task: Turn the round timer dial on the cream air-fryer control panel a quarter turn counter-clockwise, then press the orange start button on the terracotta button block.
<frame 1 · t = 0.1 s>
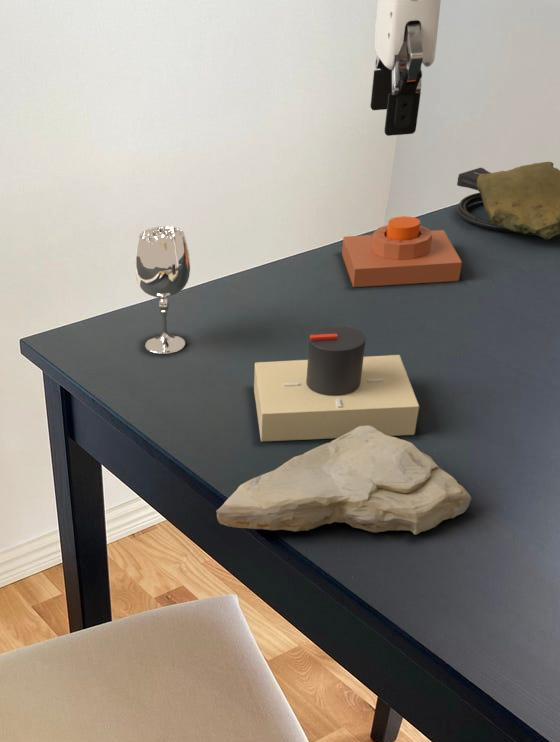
hand: (391, 120, 107), 16 cm above the table, tool pointing down, fingers open, 9 cm apart
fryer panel: (330, 411, 93), on the table
button block: (398, 267, 115), on the table
stone: (329, 508, 82), on the table
start button: (403, 229, 112), point 4 cm above the table, slide at 0.1 cm
timer dial: (335, 359, 89), point 5 cm above the table, hinge at 0.0°
wineglass: (165, 346, 106), on the table
cable: (515, 219, 123), on the table, touching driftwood
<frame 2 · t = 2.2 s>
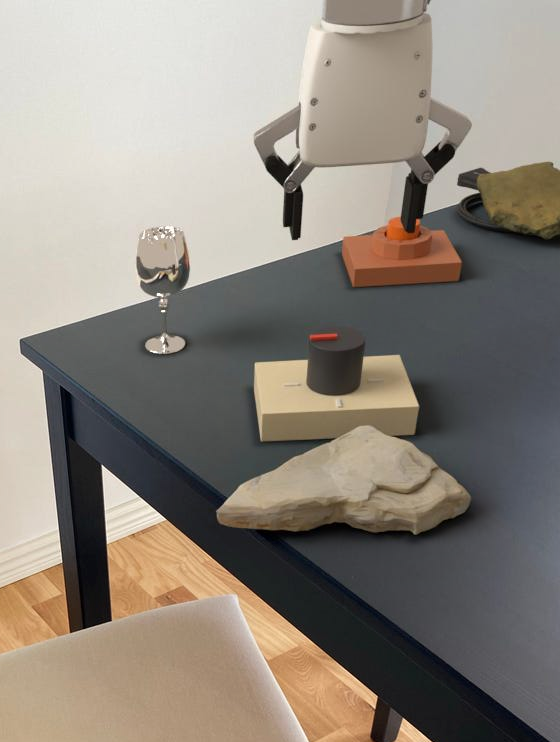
hand: (350, 231, 84), 16 cm above the table, tool pointing down, fingers open, 9 cm apart
nothing on the table moved.
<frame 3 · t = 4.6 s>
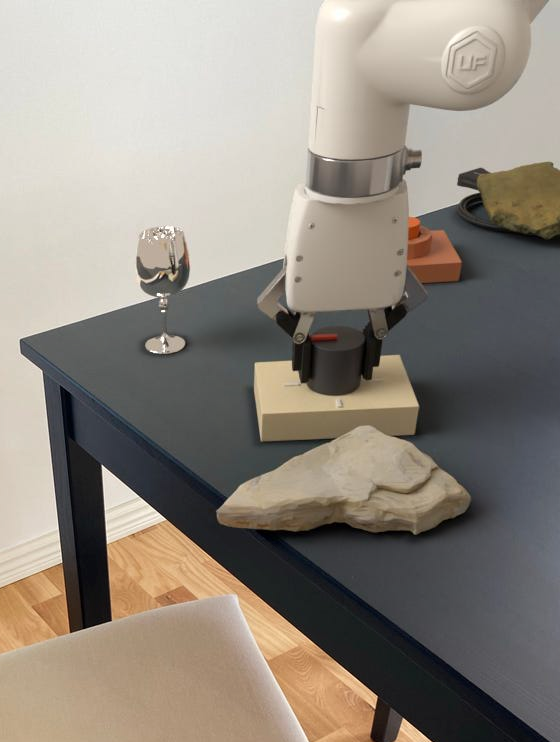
hand: (334, 373, 90), 4 cm above the table, tool pointing down, fingers closed on timer dial, 5 cm apart
timer dial: (335, 359, 89), point 5 cm above the table, hinge at 0.1°, touching gripper
everything else where it was.
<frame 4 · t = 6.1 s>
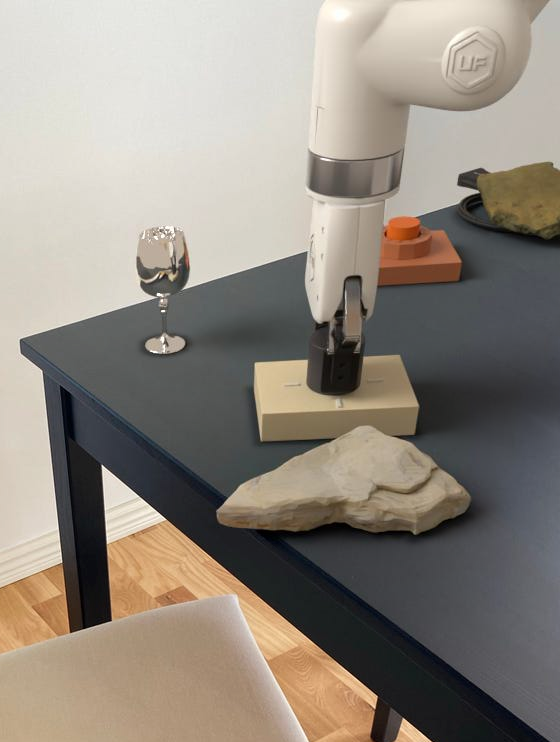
hand: (333, 373, 90), 4 cm above the table, tool pointing down, fingers closed on timer dial, 5 cm apart
timer dial: (335, 359, 89), point 5 cm above the table, hinge at 90.0°, touching gripper
everything else where it was.
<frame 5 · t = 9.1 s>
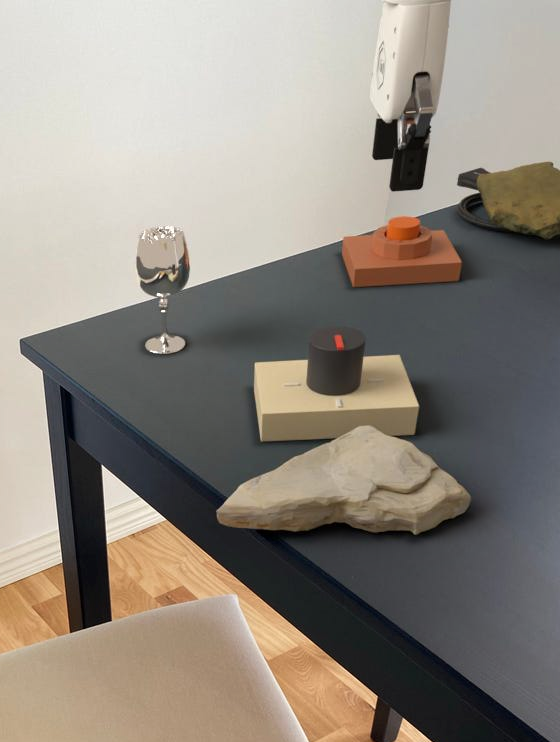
hand: (396, 173, 100), 14 cm above the table, tool pointing down, fingers open, 9 cm apart
timer dial: (335, 359, 89), point 5 cm above the table, hinge at 89.2°
everything else where it was.
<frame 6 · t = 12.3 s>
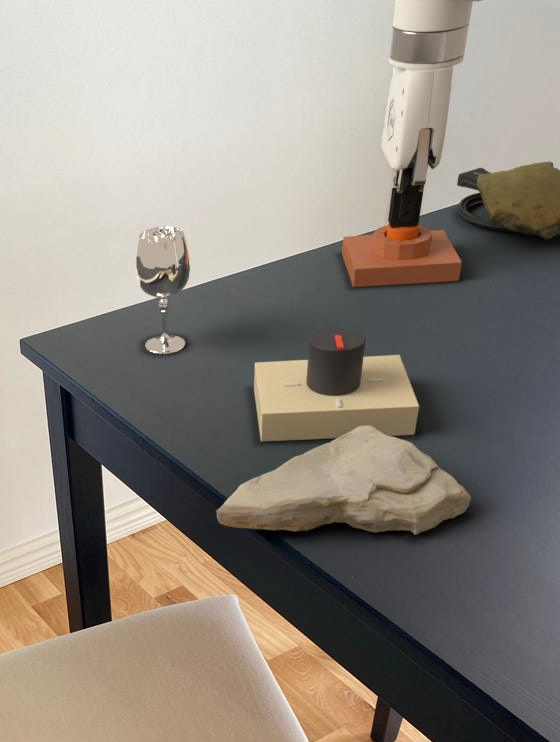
hand: (402, 224, 112), 5 cm above the table, tool pointing down, fingers closed
start button: (402, 232, 113), point 4 cm above the table, slide at -0.3 cm, touching gripper
everything else where it was.
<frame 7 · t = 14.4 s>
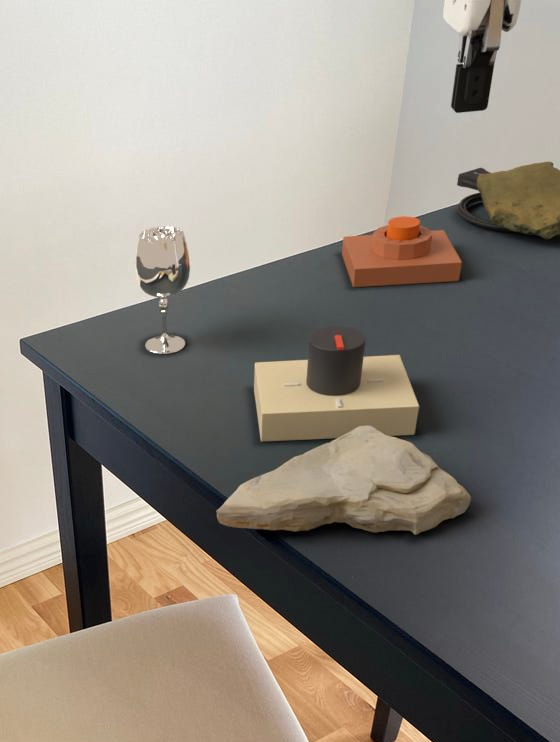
hand: (468, 109, 96), 19 cm above the table, tool pointing down, fingers closed
start button: (403, 229, 112), point 4 cm above the table, slide at 0.1 cm
everything else where it was.
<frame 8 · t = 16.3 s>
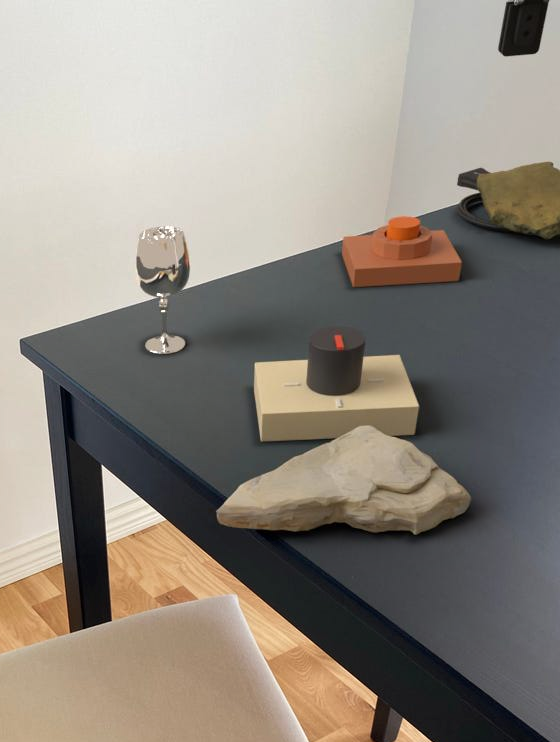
hand: (517, 52, 88), 25 cm above the table, tool pointing down, fingers closed
nothing on the table moved.
at the end: timer dial at +89° (first picture: +0°); start button pushed in 1.1 cm at the most during the clip, back to where it started at the end; start button slide at 0.1 cm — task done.
